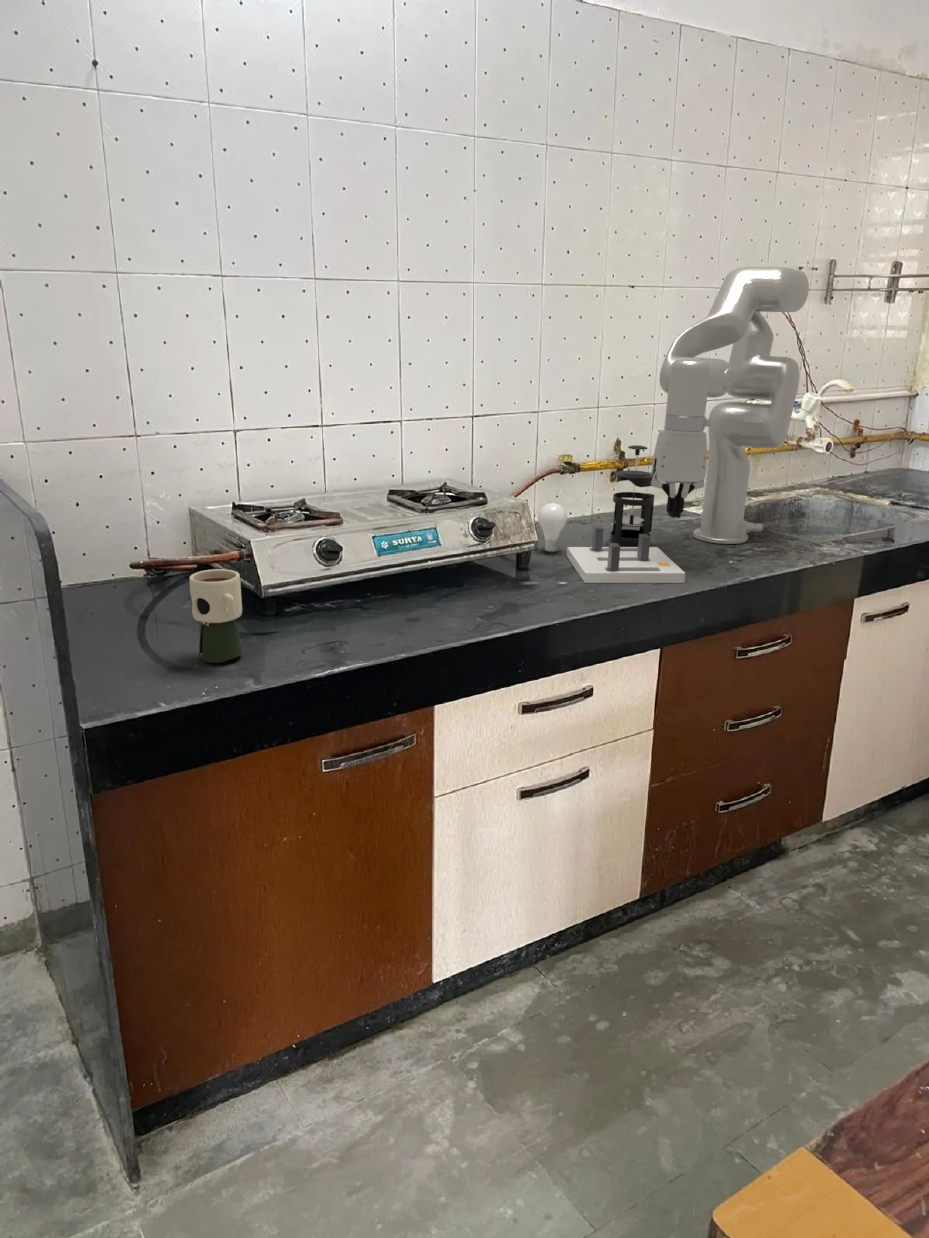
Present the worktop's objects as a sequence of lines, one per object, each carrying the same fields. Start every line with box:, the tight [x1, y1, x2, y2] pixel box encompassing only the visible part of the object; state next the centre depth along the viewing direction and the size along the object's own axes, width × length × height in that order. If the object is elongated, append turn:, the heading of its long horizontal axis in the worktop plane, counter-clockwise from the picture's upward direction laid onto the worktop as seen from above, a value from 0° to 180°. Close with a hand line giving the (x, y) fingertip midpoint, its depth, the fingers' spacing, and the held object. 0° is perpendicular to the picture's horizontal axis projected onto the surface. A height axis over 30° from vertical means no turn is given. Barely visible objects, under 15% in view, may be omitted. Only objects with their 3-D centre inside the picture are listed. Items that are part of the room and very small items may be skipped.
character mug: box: [188, 568, 243, 664], centre depth 128 cm, size 11×7×13 cm, turn 39°
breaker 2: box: [607, 542, 620, 570], centre depth 172 cm, size 2×3×5 cm, turn 4°
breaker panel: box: [566, 546, 686, 584], centre depth 180 cm, size 20×20×2 cm
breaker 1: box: [591, 524, 604, 550], centre depth 186 cm, size 2×3×5 cm, turn 4°
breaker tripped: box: [637, 534, 651, 560], centre depth 179 cm, size 2×3×5 cm, turn 4°
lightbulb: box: [537, 502, 568, 554], centre depth 190 cm, size 6×6×11 cm
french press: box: [607, 444, 655, 547], centre depth 193 cm, size 12×9×23 cm
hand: (674, 516), depth 177 cm, fingers closed
